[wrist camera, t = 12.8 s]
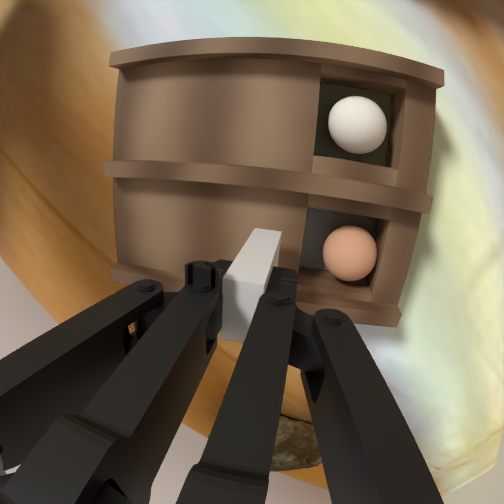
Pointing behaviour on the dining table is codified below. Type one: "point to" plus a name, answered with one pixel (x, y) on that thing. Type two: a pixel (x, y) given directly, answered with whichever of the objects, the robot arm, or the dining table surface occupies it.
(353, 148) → the ball cream
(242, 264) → the robot arm
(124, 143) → the board
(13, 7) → the dining table surface
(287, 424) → the stone
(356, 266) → the ball terracotta
